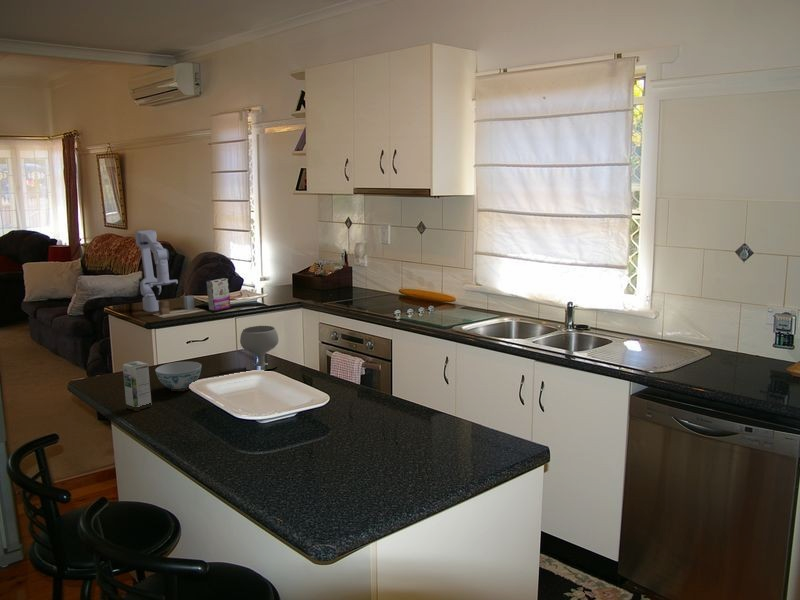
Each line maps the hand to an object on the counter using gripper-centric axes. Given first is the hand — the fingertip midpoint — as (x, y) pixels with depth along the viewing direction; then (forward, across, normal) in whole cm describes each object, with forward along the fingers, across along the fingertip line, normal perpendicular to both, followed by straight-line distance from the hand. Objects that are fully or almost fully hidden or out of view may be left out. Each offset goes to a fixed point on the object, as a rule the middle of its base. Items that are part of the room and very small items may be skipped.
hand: (165, 299), depth 359 cm
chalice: (+9, -18, -119) cm, 121 cm away
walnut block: (+9, +2, +7) cm, 12 cm away
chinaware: (+9, -51, -121) cm, 132 cm away
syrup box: (+9, -69, -130) cm, 147 cm away
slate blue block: (+9, +18, +10) cm, 23 cm away
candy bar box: (+10, +30, -1) cm, 32 cm away
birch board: (+10, +10, +6) cm, 15 cm away
